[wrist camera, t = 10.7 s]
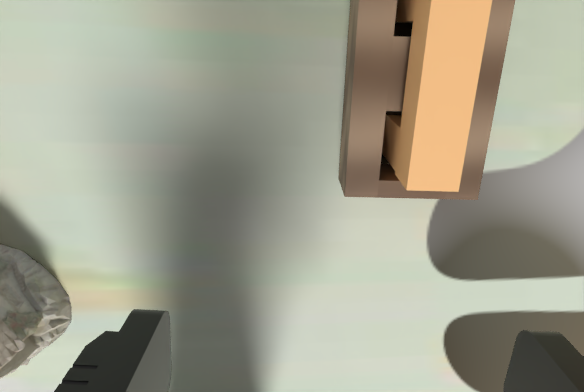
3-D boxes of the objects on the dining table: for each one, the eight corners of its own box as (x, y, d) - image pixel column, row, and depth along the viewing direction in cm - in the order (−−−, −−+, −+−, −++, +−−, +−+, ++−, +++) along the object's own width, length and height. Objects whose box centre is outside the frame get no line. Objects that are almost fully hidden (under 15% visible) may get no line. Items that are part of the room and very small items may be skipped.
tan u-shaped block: (398, -26, 28) (437, -47, 21) (444, -25, 28) (500, -45, 21) (379, 153, 33) (406, 190, 25) (419, 154, 33) (458, 191, 25)
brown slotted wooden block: (456, 180, 33) (477, 199, 30) (338, 177, 33) (344, 196, 29) (496, -60, 28) (528, -73, 24) (354, -64, 28) (364, -79, 24)
